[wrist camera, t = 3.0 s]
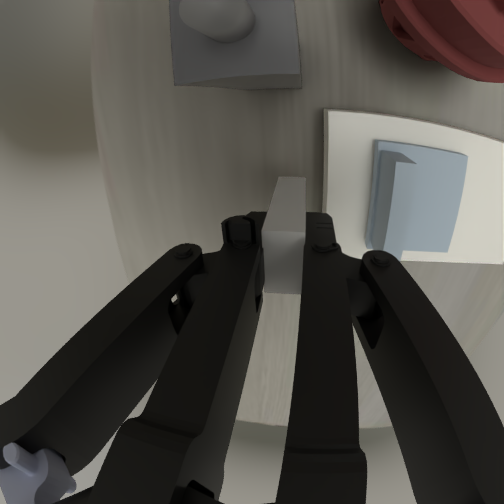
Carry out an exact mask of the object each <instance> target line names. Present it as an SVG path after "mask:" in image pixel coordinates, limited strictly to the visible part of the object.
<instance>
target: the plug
mask: <svg viewBox="0 0 504 504" xmlns="http://www.w3.org/2000/svg"><path fill="white" fill-rule="evenodd" d="M169 10H170V31H171V48H172V61H173V74H174V85H175V86H203V87H219V88H231V89H241V90H255V89H279V88H302V80H301V63H300V49H299V36H298V27H297V18H296V9H295V1H294V0H169Z"/></svg>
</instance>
